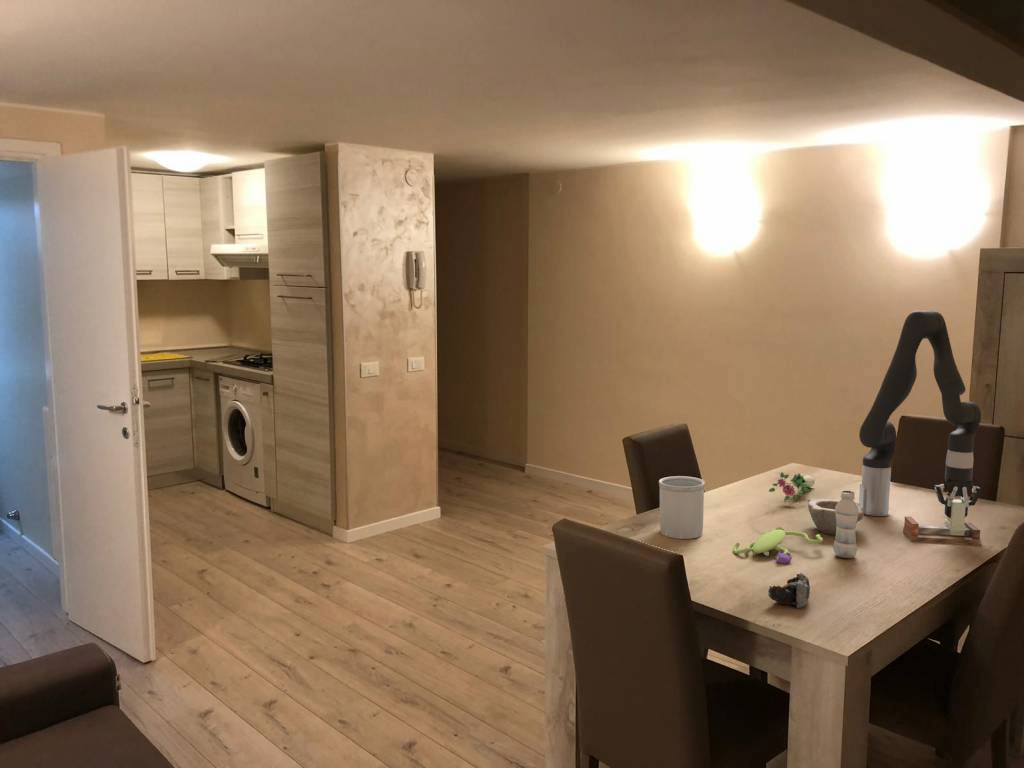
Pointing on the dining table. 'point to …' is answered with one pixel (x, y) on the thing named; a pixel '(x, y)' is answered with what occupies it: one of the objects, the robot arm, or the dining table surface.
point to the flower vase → (797, 481)
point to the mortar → (827, 514)
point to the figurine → (774, 544)
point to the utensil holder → (681, 507)
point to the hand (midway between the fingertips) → (955, 517)
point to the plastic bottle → (846, 526)
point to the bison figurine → (792, 591)
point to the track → (949, 537)
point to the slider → (956, 518)
